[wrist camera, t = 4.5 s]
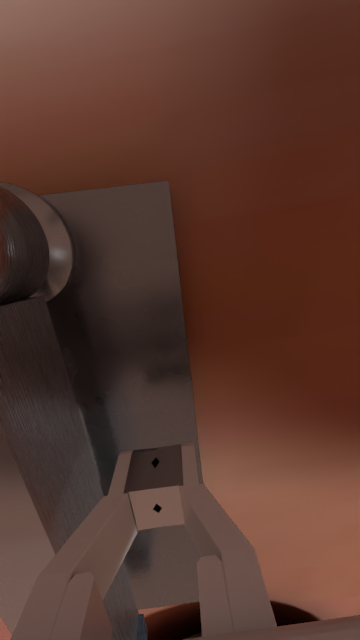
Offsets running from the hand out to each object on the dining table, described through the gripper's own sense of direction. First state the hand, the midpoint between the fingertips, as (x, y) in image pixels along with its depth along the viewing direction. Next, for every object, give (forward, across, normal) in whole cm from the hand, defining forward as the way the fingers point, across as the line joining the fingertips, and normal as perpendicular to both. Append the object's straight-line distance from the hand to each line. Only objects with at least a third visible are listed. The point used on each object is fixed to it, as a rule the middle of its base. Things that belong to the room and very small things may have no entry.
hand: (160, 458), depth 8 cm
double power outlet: (+4, +5, +4) cm, 8 cm away
